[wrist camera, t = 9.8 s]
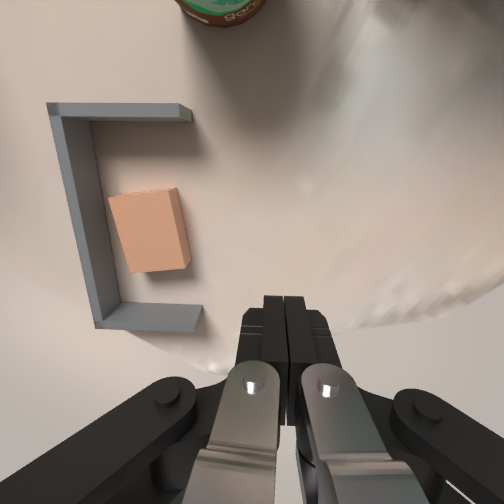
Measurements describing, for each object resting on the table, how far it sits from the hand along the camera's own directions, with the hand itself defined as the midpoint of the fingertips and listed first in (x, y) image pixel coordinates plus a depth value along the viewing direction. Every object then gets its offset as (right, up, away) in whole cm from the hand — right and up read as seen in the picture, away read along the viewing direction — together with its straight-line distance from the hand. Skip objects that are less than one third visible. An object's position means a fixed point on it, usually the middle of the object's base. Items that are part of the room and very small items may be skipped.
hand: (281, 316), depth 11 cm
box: (-12, +6, +19) cm, 23 cm away
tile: (-11, +5, +20) cm, 23 cm away
